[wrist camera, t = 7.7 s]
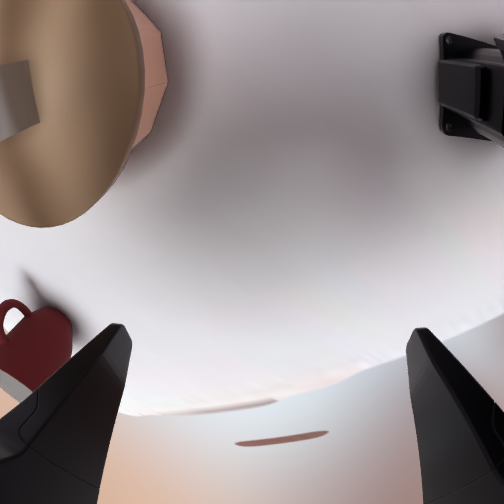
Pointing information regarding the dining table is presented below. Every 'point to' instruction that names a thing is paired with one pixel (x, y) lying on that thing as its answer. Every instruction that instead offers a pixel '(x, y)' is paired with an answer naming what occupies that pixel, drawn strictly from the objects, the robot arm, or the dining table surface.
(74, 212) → the lid
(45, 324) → the mug
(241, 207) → the dining table surface
